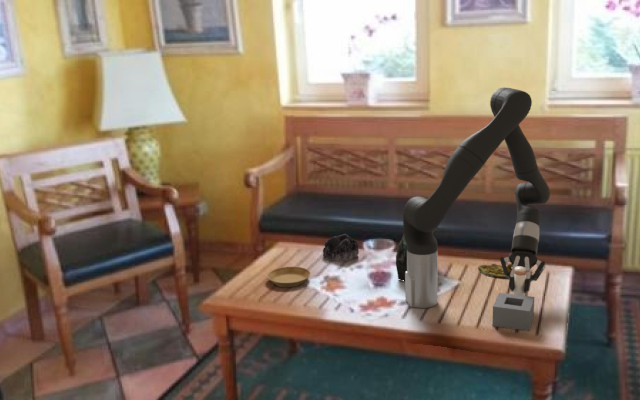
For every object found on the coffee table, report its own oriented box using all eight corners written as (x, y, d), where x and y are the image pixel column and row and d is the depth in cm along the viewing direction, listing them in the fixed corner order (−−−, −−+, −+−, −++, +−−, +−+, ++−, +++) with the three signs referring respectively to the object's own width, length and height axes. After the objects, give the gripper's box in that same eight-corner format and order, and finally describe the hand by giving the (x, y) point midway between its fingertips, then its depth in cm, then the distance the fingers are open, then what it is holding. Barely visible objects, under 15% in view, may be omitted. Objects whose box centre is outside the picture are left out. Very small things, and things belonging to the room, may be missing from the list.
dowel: (516, 308, 199) (517, 270, 195) (511, 303, 202) (512, 266, 198) (526, 306, 199) (528, 269, 196) (521, 302, 202) (522, 265, 199)
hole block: (529, 331, 184) (529, 311, 183) (492, 325, 188) (492, 306, 187) (533, 315, 193) (534, 296, 191) (498, 311, 197) (499, 292, 196)
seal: (473, 277, 226) (517, 284, 218) (472, 265, 224) (517, 271, 216) (482, 265, 233) (525, 272, 225) (482, 253, 232) (525, 259, 224)
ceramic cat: (427, 262, 238) (426, 209, 232) (442, 266, 233) (442, 212, 228) (392, 279, 224) (391, 223, 219) (408, 284, 220) (407, 227, 214)
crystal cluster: (324, 252, 255) (321, 228, 252) (359, 248, 254) (356, 224, 251) (323, 267, 243) (319, 242, 240) (359, 263, 241) (356, 238, 238)
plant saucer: (280, 271, 237) (280, 264, 237) (318, 276, 231) (317, 269, 230) (260, 286, 224) (259, 279, 224) (298, 292, 218) (298, 285, 218)
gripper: (501, 231, 204) (493, 283, 197) (549, 236, 198) (542, 289, 191) (503, 242, 210) (495, 293, 203) (550, 246, 205) (544, 299, 197)
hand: (518, 291), depth 197 cm, fingers closed on dowel, 3 cm apart
